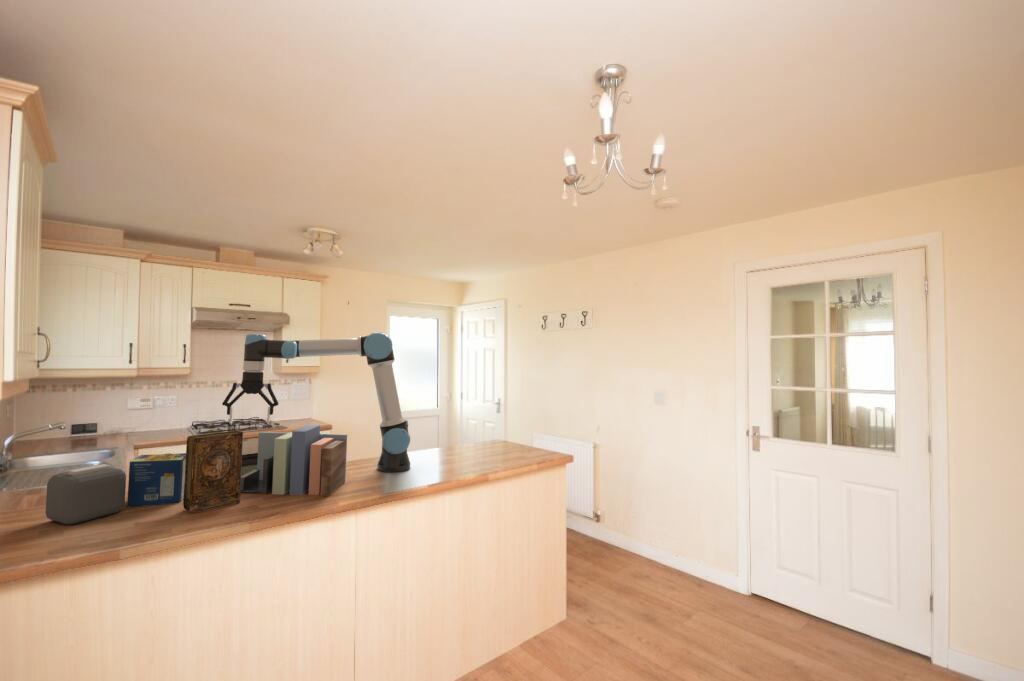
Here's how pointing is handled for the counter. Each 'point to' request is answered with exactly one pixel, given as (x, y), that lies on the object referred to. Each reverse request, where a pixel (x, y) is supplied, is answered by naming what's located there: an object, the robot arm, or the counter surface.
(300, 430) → the navy book
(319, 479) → the terracotta book
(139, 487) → the protein box
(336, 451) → the end stop
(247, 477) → the bookend
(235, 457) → the book
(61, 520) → the grey rounded-edge box
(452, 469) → the counter surface
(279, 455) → the green book
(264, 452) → the back rail
